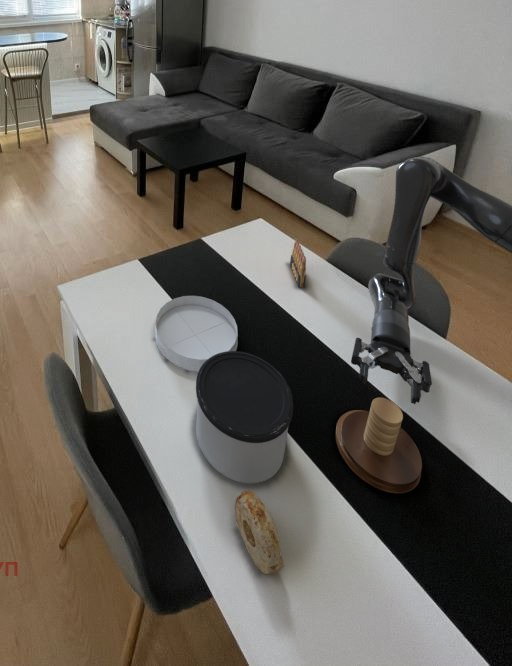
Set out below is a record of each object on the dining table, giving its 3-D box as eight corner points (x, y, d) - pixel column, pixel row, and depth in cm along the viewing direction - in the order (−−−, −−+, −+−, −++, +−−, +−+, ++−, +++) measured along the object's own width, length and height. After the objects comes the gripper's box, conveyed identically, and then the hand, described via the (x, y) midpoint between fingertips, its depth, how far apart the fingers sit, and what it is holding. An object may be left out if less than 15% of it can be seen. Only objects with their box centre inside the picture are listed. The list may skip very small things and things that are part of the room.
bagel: (228, 518, 79) (231, 484, 75) (245, 509, 80) (249, 476, 76) (264, 590, 70) (269, 556, 66) (283, 580, 71) (289, 546, 67)
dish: (183, 388, 103) (183, 374, 101) (140, 324, 122) (140, 311, 120) (255, 353, 111) (256, 339, 109) (205, 298, 130) (205, 285, 128)
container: (191, 394, 102) (192, 348, 96) (273, 399, 100) (279, 352, 94) (198, 484, 84) (200, 434, 79) (297, 492, 82) (306, 441, 77)
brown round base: (418, 440, 90) (422, 429, 88) (421, 514, 78) (425, 502, 77) (338, 405, 97) (341, 395, 96) (330, 468, 86) (332, 456, 84)
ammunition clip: (289, 266, 141) (293, 236, 137) (295, 267, 141) (299, 236, 137) (297, 289, 132) (302, 258, 127) (304, 290, 131) (308, 258, 127)
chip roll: (393, 437, 87) (403, 405, 84) (393, 461, 83) (403, 428, 80) (364, 424, 90) (372, 392, 86) (362, 446, 86) (370, 414, 82)
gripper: (358, 310, 102) (352, 362, 89) (431, 334, 94) (436, 394, 82) (353, 334, 104) (346, 387, 92) (424, 359, 97) (427, 420, 84)
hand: (389, 390), depth 87 cm, fingers open, 8 cm apart
